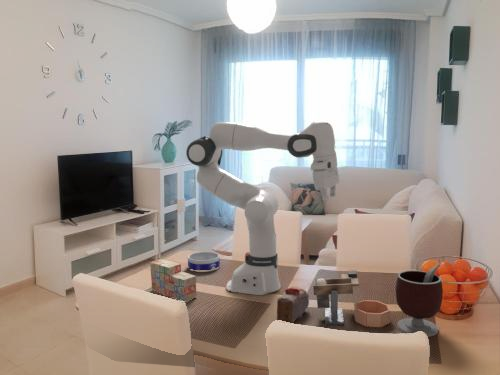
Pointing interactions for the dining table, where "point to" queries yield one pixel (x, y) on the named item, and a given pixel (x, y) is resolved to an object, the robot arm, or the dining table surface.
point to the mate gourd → (419, 299)
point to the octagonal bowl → (371, 313)
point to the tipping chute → (335, 287)
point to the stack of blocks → (172, 280)
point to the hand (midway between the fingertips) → (329, 198)
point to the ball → (321, 282)
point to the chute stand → (334, 311)
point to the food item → (292, 304)
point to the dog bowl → (203, 260)
